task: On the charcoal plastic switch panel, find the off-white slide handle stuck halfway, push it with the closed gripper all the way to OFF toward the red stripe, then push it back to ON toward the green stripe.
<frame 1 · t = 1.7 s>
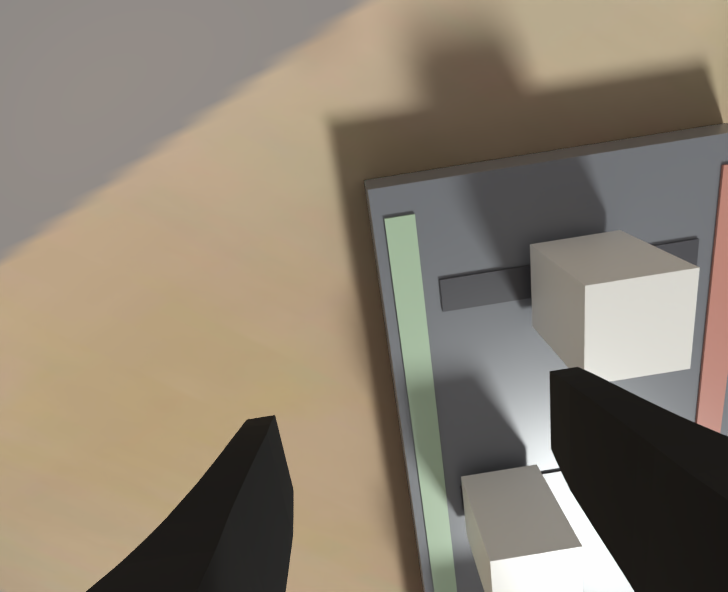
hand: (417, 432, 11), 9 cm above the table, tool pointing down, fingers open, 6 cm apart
panel: (550, 449, 23), on the table
switch middle: (517, 539, 19), point 4 cm above the table, slide at 6.0 cm
tripped switch: (603, 301, 16), point 4 cm above the table, slide at 3.0 cm
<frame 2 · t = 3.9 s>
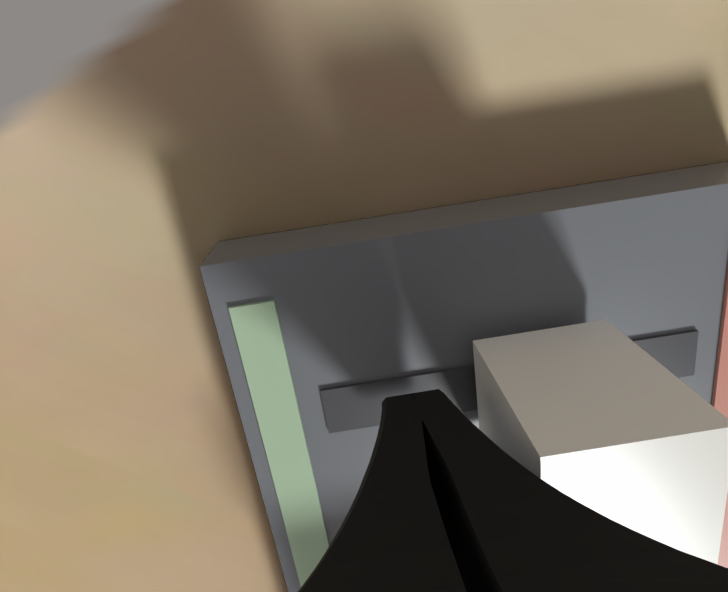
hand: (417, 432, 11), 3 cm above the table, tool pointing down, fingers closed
panel: (501, 579, 18), on the table
tripped switch: (579, 441, 10), point 5 cm above the table, slide at 2.4 cm, touching gripper
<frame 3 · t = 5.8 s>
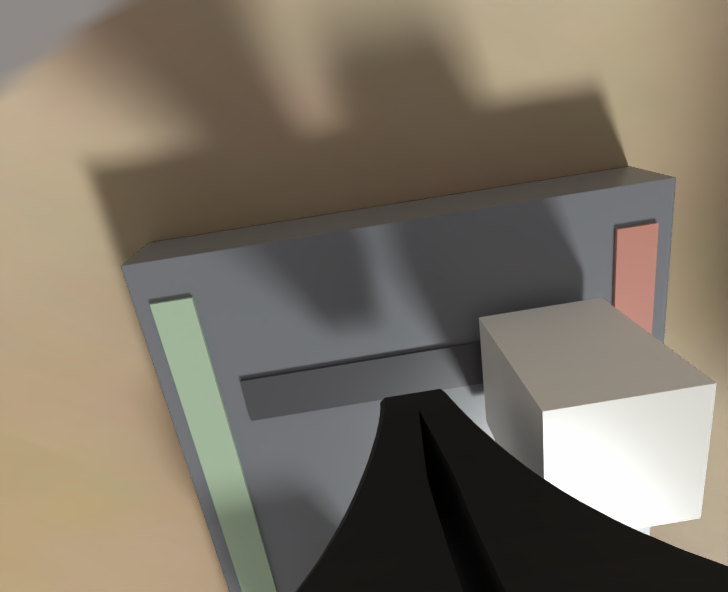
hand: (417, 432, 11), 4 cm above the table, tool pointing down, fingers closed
panel: (435, 562, 19), on the table
tripped switch: (576, 406, 11), point 4 cm above the table, slide at -0.1 cm
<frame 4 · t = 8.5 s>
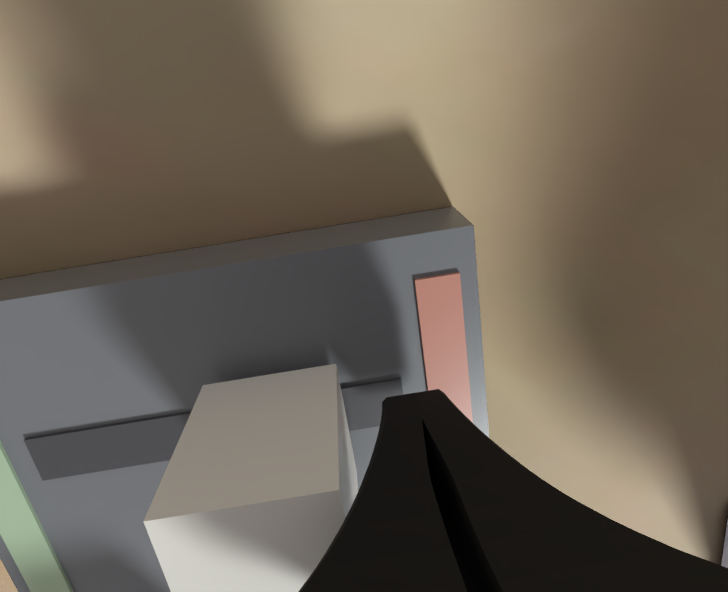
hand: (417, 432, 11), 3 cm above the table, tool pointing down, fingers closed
tripped switch: (274, 490, 10), point 4 cm above the table, slide at 1.4 cm, touching gripper
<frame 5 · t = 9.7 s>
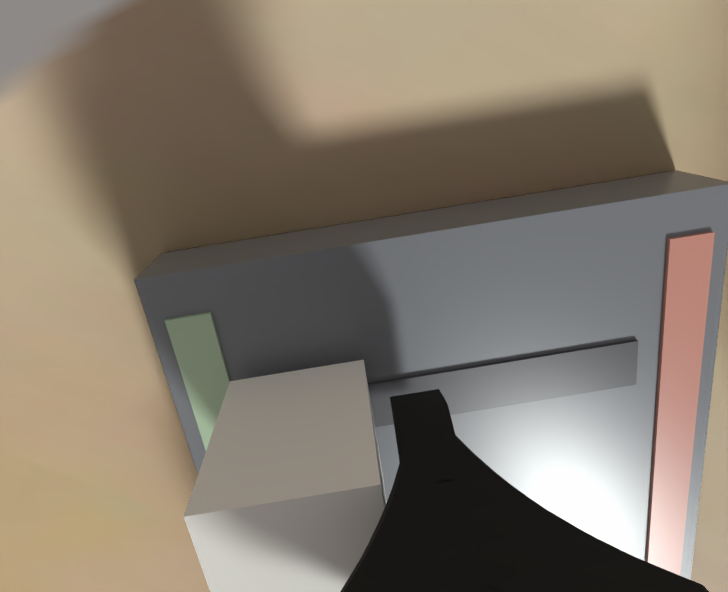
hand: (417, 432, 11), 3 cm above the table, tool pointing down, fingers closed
panel: (461, 586, 18), on the table
tripped switch: (305, 486, 10), point 4 cm above the table, slide at 6.5 cm, touching gripper
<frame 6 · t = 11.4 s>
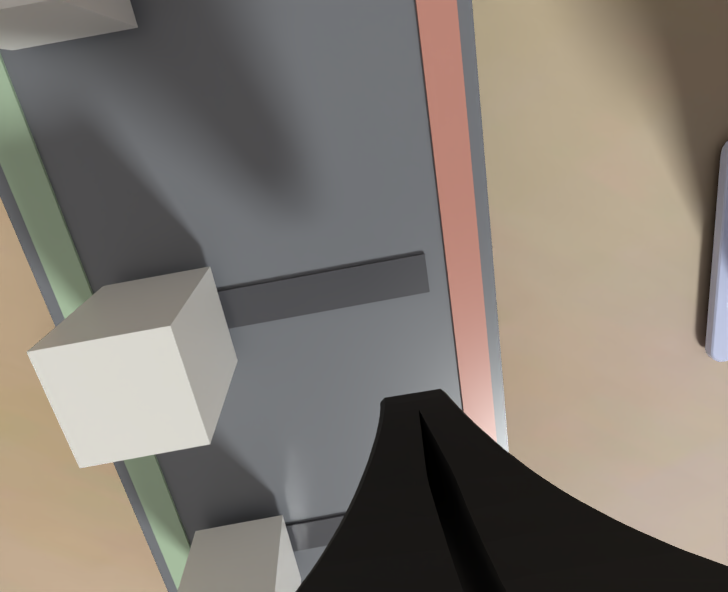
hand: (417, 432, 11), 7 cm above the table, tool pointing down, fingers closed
panel: (282, 277, 17), on the table
switch middle: (151, 357, 13), point 4 cm above the table, slide at 6.0 cm
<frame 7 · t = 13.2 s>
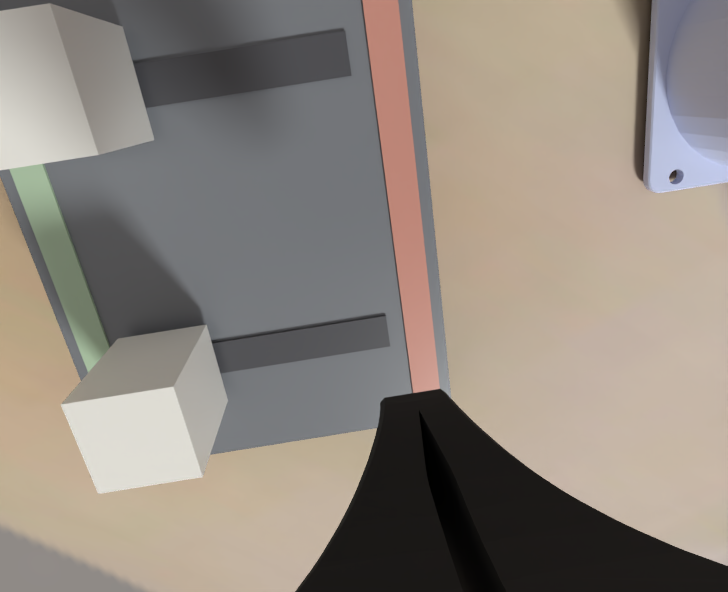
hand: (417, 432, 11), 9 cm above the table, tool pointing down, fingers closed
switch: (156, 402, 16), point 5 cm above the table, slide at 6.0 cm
panel: (210, 79, 17), on the table
switch middle: (51, 93, 13), point 5 cm above the table, slide at 6.0 cm
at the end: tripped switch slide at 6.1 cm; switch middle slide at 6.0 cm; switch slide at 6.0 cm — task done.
